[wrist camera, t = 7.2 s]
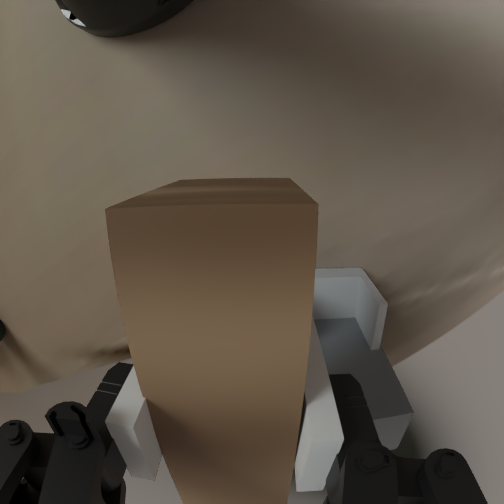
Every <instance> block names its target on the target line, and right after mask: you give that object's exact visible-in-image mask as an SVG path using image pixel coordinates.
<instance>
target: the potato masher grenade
mask: <svg viewBox="0 0 504 504" xmlns="http://www.w3.org/2000/svg"><path fill="white" fill-rule="evenodd" d="M4 335H5V329H4V326H3V324H2V322H1V321H0V341H1V340H2V339H3V337H4Z"/></svg>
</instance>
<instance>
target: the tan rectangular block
mask: <svg viewBox="0 0 504 504" xmlns="http://www.w3.org/2000/svg"><path fill="white" fill-rule="evenodd" d="M105 212H106V222H107V230H108V238H109V246H110V253H111V259H112V266H113V272H114V278H115V284H116V289H117V295H118V300H119V305H120V310H121V315H122V319H123V324H124V328H125V333H126V337H127V341H128V345H129V349H130V353H131V357H132V361H133V365H134V368H135V372H136V376H137V379H138V383H139V386H140V390H141V393H142V396H143V397H144V398H146V402H147V406H148V410H149V414H150V417H151V421H152V424H153V428H154V431H155V435H156V438H157V441H158V444H159V446H160V449H161V452H162V454H163V457H164V459H165V462H166V464H167V467H168V469H169V472H170V474H171V477H172V479H173V481H174V484H175V486H176V488H177V490H178V493H179V495H180V497H181V499H182V501H183V504H287V500H288V495H289V490H290V484H291V478H292V472H293V467H294V461H295V455H296V448H297V442H298V435H299V428H300V421H301V414H302V406H303V398H304V390H305V382H306V373H307V364H308V355H309V345H310V334H311V323H312V311H313V298H314V284H315V268H316V250H317V228H318V203H316V202H315V201H314V200H313V199H312V198H311V197H310V196H309V195H308V194H307V193H306V192H304V191H303V190H302V189H301V188H300V187H299V186H298V185H297V184H296V183H295V182H293V181H292V180H291V179H290V178H222V179H193V180H179V181H177V182H174V183H171V184H168V185H165V186H163V187H160V188H157V189H155V190H152V191H149V192H147V193H144V194H141V195H139V196H136V197H134V198H131V199H128V200H126V201H123V202H121V203H118V204H116V205H113V206H111V207H109V208H106V209H105Z"/></svg>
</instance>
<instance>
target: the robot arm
mask: <svg viewBox="0 0 504 504" xmlns="http://www.w3.org/2000/svg"><path fill="white" fill-rule="evenodd" d="M55 1H56V2H57V4H58V6H59V8H60V9H61V11H62V13H63V14H64V16H65V17H66V18H67V19H68V20H69V21H70V22H71V23H72V24H74V25H75V26H77V27H79V28H81V29H82V30H84V31H86V32H88V33H91V34H94V35H97V36H104V37H117V36H125V35H130V34H134V33H138V32H141V31H144V30H146V29H149V28H151V27H154V26H156V25H158V24H160V23H162V22H164V21H166V20H167V19H169V18H171V17H172V16H174V15H175V14H177V13H178V12H180V11H181V10H182V9H184V8H185V7H186V6H187V5H189V4H190V3H191V2H192V1H193V0H55ZM45 417H46V419H47V421H48V423H49V424H50V426H51V428H52V430H53V431H54V433H53V434H51V433H35V432H33V431H32V429H31V427H30V426H29V425H28V424H27V423H26V422H24V421H20V420H10V421H8V422H6V423H4V424H3V425H2V426H1V427H0V504H125V495H126V485H125V481H124V479H123V476H124V473H125V470H126V467H127V469H128V471H129V473H130V475H131V476H134V477H138V478H143V479H148V480H153V481H155V478H156V475H157V471H158V468H159V464H160V461H161V457H162V452H161V449H160V446H159V444H158V441H157V438H156V435H155V431H154V428H153V424H152V421H151V417H150V414H149V410H148V406H147V402H146V398H144V397H143V396H142V393H141V390H140V386H139V383H138V379H137V376H136V372H135V368H134V365H133V364H127V363H121V362H119V363H117V364H116V365H115V366H113V367H112V368H111V369H110V370H108V372H107V373H106V375H105V377H104V378H103V380H102V383H100V385H99V387H98V388H97V391H96V392H95V393H94V395H93V397H92V398H91V400H90V402H89V404H88V405H87V407H85V406H83V405H82V404H80V403H77V402H62V403H59V404H56V405H55V406H53V407H52V408H51V409H49V411H48V412H47V414H46V415H45ZM294 463H295V474H296V475H295V476H296V490H297V491H298V492H299V491H316V490H323V488H324V486H325V484H326V486H327V493H328V495H327V497H326V499H325V501H324V503H323V504H487V501H486V499H485V497H484V495H483V493H482V491H481V489H480V487H479V485H478V483H477V481H476V479H475V477H474V475H473V473H472V471H471V469H470V467H469V465H468V464H467V462H466V460H465V459H464V457H463V456H462V455H461V454H460V453H458V452H456V451H455V450H452V449H446V448H445V449H438V450H436V451H434V452H432V453H431V454H430V455H429V456H428V457H427V459H414V458H404V457H398V456H396V455H394V454H393V453H392V452H391V451H390V450H389V449H388V448H387V447H385V446H383V445H382V444H381V442H380V440H379V437H378V434H377V431H376V428H375V425H374V422H373V419H372V416H371V413H370V410H369V407H367V402H366V399H365V397H364V393H363V390H362V387H361V385H360V383H359V382H358V381H357V380H356V379H355V378H354V377H353V376H352V375H351V374H328V371H327V367H326V363H325V360H324V356H323V352H322V348H321V345H320V341H319V337H318V333H317V330H316V326H315V323H314V319H313V315H312V323H311V334H310V345H309V355H308V364H307V373H306V382H305V390H304V398H303V406H302V414H301V421H300V428H299V435H298V442H297V448H296V455H295V461H294ZM23 477H24V478H23ZM22 478H23V479H22Z"/></svg>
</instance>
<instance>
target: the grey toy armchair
mask: <svg viewBox="0 0 504 504" xmlns="http://www.w3.org/2000/svg"><path fill="white" fill-rule="evenodd" d="M387 307H388V303H387V302H386V301H385V299H384V298H383V296H382V295H381V294H380V292H379V291H378V289H377V288H376V287H375V285H374V284H373V283H372V281H371V280H370V279H369V277H368V276H367V274H366V273H365V272H364V270H363V269H362V268H327V269H315V284H314V298H313V311H312V315H313V319H314V323H315V326H316V330H317V333H318V337H319V341H320V345H321V348H322V352H323V356H324V360H325V363H326V367H327V371H328V374H351V375H352V376H353V377H354V378H355V379H356V380H357V381H358V382H359V383H360V385H361V387H362V390H363V393H364V397H365V399H366V402H367V407H369V410H370V413H371V416H372V419H373V422H374V425H375V428H376V431H377V434H378V437H379V440H380V442H381V444H382V445H383V446H385V447H387V448H388V449H389V450H392V449H396V448H397V447H398V445H399V443H400V441H401V439H402V437H403V435H404V433H405V431H406V429H407V426H408V424H409V422H410V420H411V418H412V415H413V413H414V412H413V410H412V407H411V405H410V403H409V401H408V399H407V397H406V395H405V393H404V391H403V388H402V387H401V384H400V382H399V380H398V378H397V376H396V375H395V372H394V370H393V368H392V366H391V364H390V362H389V360H388V358H387V356H386V355H385V353H384V351H383V349H382V347H381V345H380V343H381V338H382V333H383V329H384V324H385V318H386V313H387Z"/></svg>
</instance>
